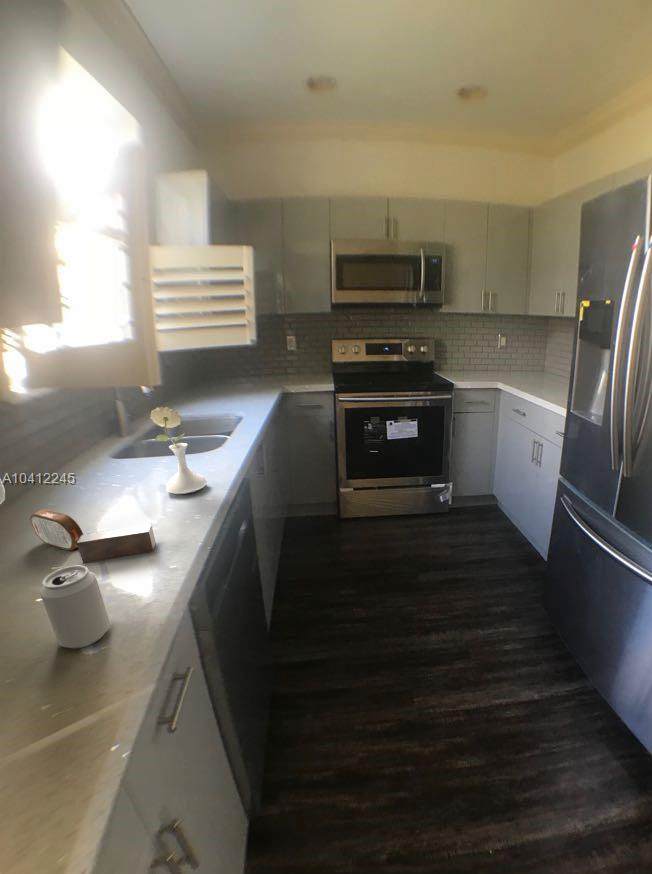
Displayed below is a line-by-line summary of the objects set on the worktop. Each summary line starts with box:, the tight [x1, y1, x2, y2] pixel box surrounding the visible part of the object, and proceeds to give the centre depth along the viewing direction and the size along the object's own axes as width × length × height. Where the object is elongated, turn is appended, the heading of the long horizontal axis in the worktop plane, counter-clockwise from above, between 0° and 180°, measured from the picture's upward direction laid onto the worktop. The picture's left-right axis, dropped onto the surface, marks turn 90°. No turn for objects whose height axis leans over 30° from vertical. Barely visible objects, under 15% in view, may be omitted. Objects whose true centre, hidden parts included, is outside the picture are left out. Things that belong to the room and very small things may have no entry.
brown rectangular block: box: [77, 523, 157, 564], centre depth 101 cm, size 14×4×5 cm, turn 108°
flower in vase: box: [149, 406, 208, 495], centre depth 132 cm, size 13×11×25 cm
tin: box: [29, 508, 84, 551], centre depth 105 cm, size 15×3×8 cm, turn 65°
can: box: [39, 564, 111, 649], centre depth 74 cm, size 8×8×12 cm
